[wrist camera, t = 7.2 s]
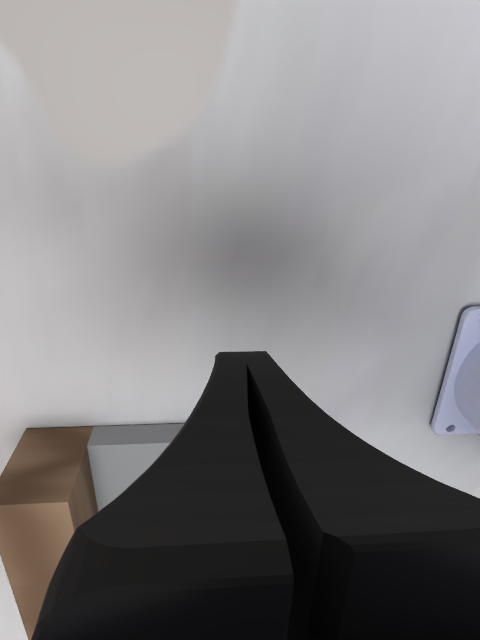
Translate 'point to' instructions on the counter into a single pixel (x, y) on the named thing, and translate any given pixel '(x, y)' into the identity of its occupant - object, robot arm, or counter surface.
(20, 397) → the counter surface
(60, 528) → the jamb
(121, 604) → the robot arm
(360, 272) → the counter surface
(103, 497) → the door slab
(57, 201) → the counter surface
